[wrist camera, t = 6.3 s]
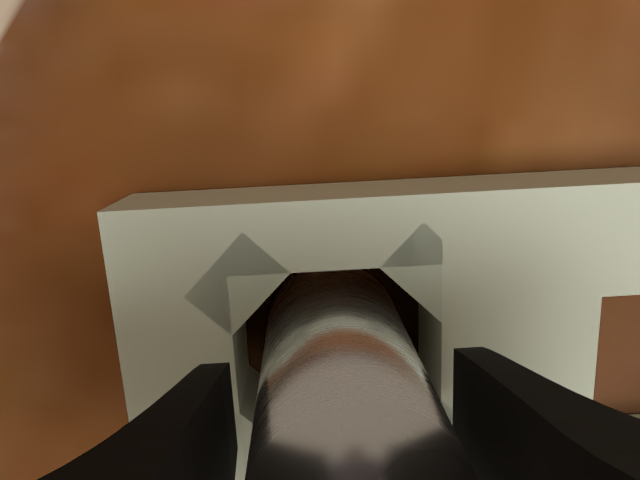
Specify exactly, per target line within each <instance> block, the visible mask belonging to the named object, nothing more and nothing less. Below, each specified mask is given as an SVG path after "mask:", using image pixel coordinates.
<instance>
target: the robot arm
mask: <svg viewBox="0 0 640 480" xmlns="http://www.w3.org/2000/svg"><path fill="white" fill-rule="evenodd" d="M452 426H453V428H454V430H455V432H456V434H457V436H458V438H459V441H460V443H461V445H462V447H463V449H464V451H465V453H466V455H467V457H468V459H469V461H470V463H471V465H472V468H473V471H474V474H475V477H476V480H640V419H639V418H636V417H634V416H631V415H628V414H625V413H623V412H620V411H618V410H615V409H613V408H610V407H608V406H605V405H603V404H601V403H598V402H596V401H594V400H592V399H589V398H587V397H585V396H583V395H581V394H578V393H576V392H574V391H572V390H570V389H568V388H566V387H563V386H561V385H559V384H557V383H555V382H553V381H551V380H549V379H547V378H545V377H543V376H541V375H539V374H538V373H536V372H534V371H532V370H530V369H528V368H526V367H524V366H522V365H520V364H518V363H516V362H514V361H513V360H511V359H509V358H507V357H505V356H503V355H501V354H499V353H497V352H495V351H492V350H490V349H488V348H485V347H468V348H454V354H453V424H452ZM237 452H238V444H237V434H236V424H235V414H234V403H233V393H232V383H231V373H230V363H229V362H226V363H210V364H200V365H198V366H197V367H196V368H194V369H193V370H192V371H191V372H190V373H188V374H187V375H186V376H185V377H184V378H183V379H181V380H180V381H179V382H178V383H177V384H176V385H175V386H173V387H172V388H171V389H170V390H169V391H168V392H166V393H165V394H164V395H163V396H162V397H160V398H159V399H158V400H157V401H156V402H155V403H153V404H152V405H151V406H150V407H149V408H147V409H146V410H145V411H143V412H142V413H141V414H139V415H138V416H137V417H135V418H134V419H133V420H131V421H130V422H129V423H128V424H126V425H125V426H124V427H122V428H121V429H120V430H118V431H117V432H116V433H114V434H113V435H111V436H110V437H109V438H107V439H106V440H104V441H103V442H101V443H100V444H98V445H97V446H95V447H94V448H92V449H90V450H89V451H87V452H85V453H84V454H82V455H81V456H79V457H77V458H76V459H74V460H72V461H71V462H69V463H67V464H66V465H64V466H62V467H60V468H58V469H56V470H55V471H53V472H51V473H49V474H47V475H45V476H43V477H41V478H39V479H37V480H235V473H236V463H237Z"/></svg>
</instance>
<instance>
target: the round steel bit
mask: <svg viewBox="0 0 640 480" xmlns="http://www.w3.org/2000/svg"><path fill="white" fill-rule="evenodd" d="M245 480H476V477H475V474H474V471H473V468H472V465H471V463H470V461H469V459H468V457H467V455H466V453H465V451H464V449H463V447H462V445H461V443H460V441H459V438H458V436H457V434H456V432H455V430H454V428H453V426H452V424H451V422H450V420H449V418H448V416H447V414H446V412H445V410H444V407H443V405H442V403H441V401H440V399H439V397H438V395H437V393H436V391H435V389H434V387H433V385H432V383H431V381H430V378H429V376H428V374H427V372H426V370H425V368H424V366H423V364H422V362H421V360H420V358H419V356H418V354H417V352H416V349H415V347H414V345H413V343H412V341H411V339H410V337H409V335H408V333H407V331H406V329H405V327H404V325H403V323H402V320H401V318H400V316H399V314H398V312H397V310H396V308H395V306H394V304H393V302H392V300H391V298H390V296H389V294H388V293H387V291H386V290H385V288H384V287H383V286H382V285H381V284H380V283H379V282H378V281H377V280H376V279H375V278H374V277H372V276H371V275H369V274H368V273H366V272H364V271H362V270H360V269H353V270H336V271H319V272H301V273H299V274H297V275H296V276H294V277H293V278H291V279H290V280H289V281H288V282H287V283H286V284H285V285H284V286H283V287H282V288H281V289H280V291H279V292H278V294H277V295H276V297H275V299H274V301H273V303H272V305H271V308H270V311H269V316H268V323H267V330H266V336H265V343H264V350H263V357H262V364H261V371H260V378H259V385H258V392H257V399H256V405H255V412H254V419H253V426H252V433H251V440H250V447H249V454H248V461H247V468H246V474H245Z"/></svg>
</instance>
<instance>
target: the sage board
mask: <svg viewBox="0 0 640 480" xmlns="http://www.w3.org/2000/svg"><path fill="white" fill-rule="evenodd" d="M97 217H98V223H99V230H100V236H101V243H102V249H103V256H104V262H105V269H106V275H107V282H108V289H109V295H110V302H111V308H112V315H113V321H114V328H115V334H116V341H117V348H118V354H119V361H120V367H121V374H122V380H123V387H124V393H125V400H126V406H127V413H128V420H129V422H130V421H131V420H133V419H134V418H135V417H137V416H138V415H139V414H141V413H142V412H143V411H145V410H146V409H147V408H149V407H150V406H151V405H152V404H153V403H155V402H156V401H157V400H158V399H159V398H160V397H162V396H163V395H164V394H165V393H166V392H168V391H169V390H170V389H171V388H172V387H173V386H175V385H176V384H177V383H178V382H179V381H180V380H181V379H183V378H184V377H185V376H186V375H187V374H188V373H190V372H191V371H192V370H193V369H194V368H196V367H197V366H198V365H200V364H210V363H226V362H229V363H230V373H231V383H232V393H233V403H234V414H235V424H236V434H237V444H238V452H237V463H236V473H235V480H245V474H246V468H247V461H248V454H249V447H250V440H251V433H252V426H253V419H254V412H255V405H256V399H257V392H258V385H259V378H260V372H259V371H257V370H256V369H255V368H254V367H252V366H251V365H250V364H249V358H248V346H247V335H246V324H245V322H246V320H247V319H248V318H249V317H250V316H251V315H252V314H253V313H254V312H255V311H256V310H257V309H258V308H259V306H260V305H261V304H262V303H263V302H264V301H265V300H266V299H267V298H268V297H269V296H270V295H271V294H272V292H273V291H274V290H275V289H276V288H277V287H278V286H279V285H280V284H281V283H282V282H283V281H284V280H285V278H286V277H287V276H288V275H289V274H290V273H301V272H319V271H336V270H353V269H371V268H380V269H381V270H382V271H383V272H385V273H386V274H387V275H388V276H389V277H390V278H391V279H392V280H394V281H395V282H396V283H397V284H398V285H399V286H400V287H401V288H403V289H404V290H405V291H406V292H407V293H408V294H409V295H411V296H412V297H413V298H414V299H415V300H416V301H417V302H418V356H419V358H420V360H421V362H422V364H423V366H424V368H425V370H426V372H427V374H428V376H429V378H430V381H431V383H432V385H433V387H434V389H435V391H436V393H437V395H438V397H439V399H440V401H441V403H442V405H443V407H444V410H445V412H446V414H447V416H448V418H449V420H450V422H451V424H453V354H454V348H468V347H485V348H488V349H490V350H492V351H495V352H497V353H499V354H501V355H503V356H505V357H507V358H509V359H511V360H513V361H514V362H516V363H518V364H520V365H522V366H524V367H526V368H528V369H530V370H532V371H534V372H536V373H538V374H539V375H541V376H543V377H545V378H547V379H549V380H551V381H553V382H555V383H557V384H559V385H561V386H563V387H566V388H568V389H570V390H572V391H574V392H576V393H578V394H581V395H583V396H585V397H587V398H589V399H592V400H593V395H594V383H595V372H596V360H597V348H598V337H599V325H600V313H601V302H602V297H608V296H625V295H640V166H639V167H620V168H602V169H583V170H564V171H545V172H527V173H508V174H489V175H470V176H452V177H433V178H414V179H395V180H377V181H358V182H339V183H320V184H302V185H283V186H264V187H245V188H227V189H208V190H189V191H170V192H152V193H133V194H130V195H129V196H127V197H125V198H123V199H121V200H119V201H117V202H115V203H113V204H111V205H109V206H108V207H106V208H104V209H102V210H100V211H98V212H97ZM629 415H631V416H634V417H636V418H639V419H640V414H629Z"/></svg>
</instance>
